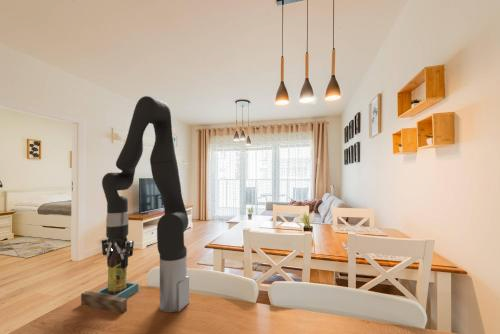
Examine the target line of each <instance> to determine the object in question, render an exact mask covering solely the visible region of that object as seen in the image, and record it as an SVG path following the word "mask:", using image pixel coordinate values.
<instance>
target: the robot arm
mask: <svg viewBox="0 0 500 334" xmlns="http://www.w3.org/2000/svg"><path fill="white" fill-rule="evenodd" d="M149 124H151V125H152V126H153V129H154V137H155V138H154V139H155V140H154V143H153V147H152V150H151V153H150V158H149V162H150V163H149V165H150V170H151V171H150V172H151V175H152V176H151V177H152V179H153V183H154V184H155V187H156V188H157V190H158V191H159V194H160V195H161V199H162V203H163V210H164V214H163V215H162V216H161V217H159V219H158V221H157V225H156V226H157V227H156V241H157V243H156V245H157V251H158V253H159V310H161V312H163V313H173V312H179V313H180V312H181V311H182V310H183V309H184V308H185V307H186V306H188V304H189V303H190V276H189V275H188V274H187V267H188V265H187V261H188V259H187V258H188V257H187V256H188V255H187V254H188V251H187V247H186V246H185V237H184V236H185V231H187V229H188V227H189V226H188V225H189V217H188V213H187V210H186V206H185V204H184V203H185V202H184V199H183V195H182V186H181V181H180V180H181V179H180V175H179V174H180V172H179V167H178V160H177V155H176V152H175V144H174V137H173V128H172V127H173V126H172V115H171V109H170V107H169V105H168V104H167V103H166V102H165V101H163V100H161V99H157V98H154V97H152V96H148V95H145V96H142V97H141V98H139V100H137V102H136V105H135V106H134V110H133V114H132V118H131V121H130V125H129V129H128V132H127V137H126V139H125V142H124V145H123V147H122V148H121V150H120V153H119V155H118V157H117V159H116V161H115V166H116V167H117V169H119V170H120V171H121V172H107V173H105V174H104V176H103V177H102V179H101V180H102V181H101V186H102V189H103V193H104V197H105V199H106V203H107V204H106V212H107V213H106V220H105V221H106V222H105V223H106V224H105V232H106V234H105V236H106V238H105V239H102V240H101V250H102V256H105V257H106V260H107V262H106V265H107V267H108V266H109V258H110V257H111V255H112V253H113V252H112V251H113V241H117V242H116V243H115V247H116V248H117V251H118V253H119V254H120V256H121V258H122V259H121V269H124V268H128V265H129V258H130V257H132V256H133V254H134V245H135V241H134V240H128V238H127V236H128V235H129V212H128V211H129V210H128V209H129V207H128V206H129V205H128V201H129V200H128V198H127V197H126V196H123V195H120V194H119V192H118V191H126V190H128V189H129V188H130V187H132V185H133V183H134V179H135V173H136V168H137V166H138V164H139V162H140V160H141V158H142V156H143V151H144V143H143V142H144V141H143V139H144V138H143V137H144V133H145V131H146V129H147V127H148V126H149ZM122 249H124V250H122ZM123 252H124V254H125V255H124V254H123Z"/></svg>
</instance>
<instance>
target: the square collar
mask: <svg viewBox="0 0 500 334" xmlns="http://www.w3.org/2000/svg"><path fill="white" fill-rule="evenodd" d="M95 293H100V294H105V295H110V294H108V285H107V286H105V287H103V288H101V289H99V290H97V291H95ZM136 293H139V283H137V282H131V281H126V290H124V291H122V292H120V293H119V294H117V295H111V296H116V297H121V298H126V299H127V300H128V298H129V297H132V296H133V295H135V294H136Z"/></svg>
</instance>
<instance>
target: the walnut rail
mask: <svg viewBox="0 0 500 334" xmlns="http://www.w3.org/2000/svg"><path fill="white" fill-rule="evenodd" d="M95 292H96V291H95ZM95 292H94V291H90V290H86V291H83V292H81V293H80V294H81V295H80V305H81V306H85V307H90V308H95V309H98V310H99V309H100V310H103V311H104V310H105V311H109V312H113V313H116V314H125V312H126V311H128V310H127V309H128V308H127V307H128V306H127V305H128V298H127V299H126V298H121V297H116V296H111V295H105V294H100V293H95Z"/></svg>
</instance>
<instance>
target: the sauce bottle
mask: <svg viewBox="0 0 500 334" xmlns="http://www.w3.org/2000/svg"><path fill="white" fill-rule="evenodd" d="M116 242H117V241H113V251H112V252H113V253H112V255H111V257H110V258H109V266H108V265H107V271H108V273H107V286H108V294H110V295H117V294H119V293H120V292H122V291H124V290H126V282H127V270H128V269H127V268H128V267H127V268H124V269H121V259H122V258H121V256H120V254H119V253H118V251H117V248H116V247H115V243H116ZM122 250H124V249H122ZM123 254H124V255H125V253H124V252H123Z"/></svg>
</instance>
